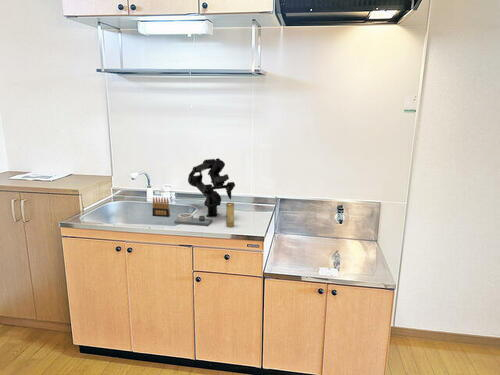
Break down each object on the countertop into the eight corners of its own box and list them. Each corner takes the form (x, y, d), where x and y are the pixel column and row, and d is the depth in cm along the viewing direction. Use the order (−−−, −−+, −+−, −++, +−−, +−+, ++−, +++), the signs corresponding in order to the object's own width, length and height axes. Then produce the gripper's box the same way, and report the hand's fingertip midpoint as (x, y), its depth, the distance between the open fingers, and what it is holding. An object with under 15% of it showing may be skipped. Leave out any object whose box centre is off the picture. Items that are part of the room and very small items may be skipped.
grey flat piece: (179, 218, 221) (179, 212, 221) (212, 221, 218) (212, 214, 217) (174, 223, 213) (174, 216, 212) (208, 226, 210) (208, 219, 209)
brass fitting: (227, 224, 213) (227, 202, 210) (234, 224, 212) (234, 202, 209) (225, 226, 209) (225, 204, 206) (233, 227, 208) (233, 205, 205)
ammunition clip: (170, 216, 226) (169, 197, 224) (169, 217, 225) (168, 198, 222) (153, 215, 228) (152, 196, 225) (152, 216, 226) (151, 197, 224)
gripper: (204, 171, 209) (212, 194, 203) (234, 168, 218) (242, 191, 212) (199, 181, 218) (207, 204, 211) (227, 178, 227) (235, 200, 221)
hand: (223, 200), depth 214 cm, fingers open, 9 cm apart
